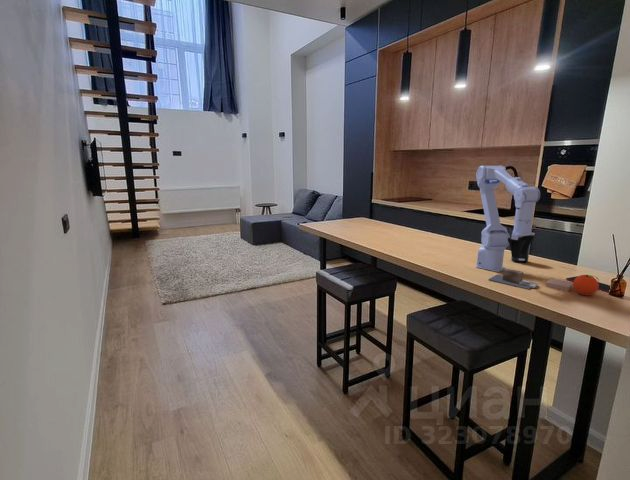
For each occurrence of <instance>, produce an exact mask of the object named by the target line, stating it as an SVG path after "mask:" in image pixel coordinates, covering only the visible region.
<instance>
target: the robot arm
mask: <svg viewBox="0 0 630 480" xmlns="http://www.w3.org/2000/svg"><path fill="white" fill-rule="evenodd" d="M475 178H476V183H477V187H478V188H479V191H480V197H481V203H482V207H483V214H484V220H485V224H486V227H484V228H483V229H482V231H481V233H480V234H481V238H480V240H481V241H480V242H481V246H480V247H479V249H478V252H477V260H476V266H475V267H476V268H478V269H482V270H483V269H484V270H487V271H488V270H489V271H493V272H497V273H500V272H502V271H504V269H507V267H506V266H503V264H504V255H505V250H507V247H509V246H510V253H511V257H514V258H519V256H520V254H526V253H527V250H528V248H529V245H530V246H531V243H532V242H533V240H534V239H535V234H536V233H535V232H533V231H532V230H533V229H532V228H533V220H534V215H535V207H536V206H535V205H536V203H537V202H538V201H539V200H540V198H541V190H540V189H539V188H538V187H537V186H530V185H529V184H528V183H527V182H524V181H523V180H522V177H517V176H515V177H513V176H511V174H509V172H508V171H507V168H506V167H505V166H504V165H501V164H500V165H480V166H479V167H478V168H477V170H476V174H475ZM501 183H502V184H504V185H505V189H506V190H507V192H508V193H510V194H511V195H512V196H513V199H514V206H515V214H514V223H513V229H512V233H511V235H510V234H509V232H508V228H507V227H505V226H504V225H502V224H501V221H500V220H501V219H500V216H499V210H498V205H497V199H496V194H495V191H494V190H495V188H498V187H499V186H500V184H501Z"/></svg>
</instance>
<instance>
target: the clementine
mask: <svg viewBox="0 0 630 480" xmlns="http://www.w3.org/2000/svg"><path fill="white" fill-rule="evenodd" d="M577 276H578V277H577V278H575V280H574V282H573V287H572V288H573V289H574V290H575V292H577V293H578V294H580V295H581V296H592V295H594V294H595V293H596V292H597V291H599V290H598V288H599V284H598V282H600V279H599V278H598V276H594V275H591V274H581V275H577Z"/></svg>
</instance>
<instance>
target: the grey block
mask: <svg viewBox="0 0 630 480" xmlns="http://www.w3.org/2000/svg"><path fill="white" fill-rule="evenodd" d="M502 271H503V272H502V273H503V274H502V275H503V280H505V281H509V282H514V283H518V284H519V285H524V286H528V287H532V288H533V289H534V288H536V287H537V286H539V283H538V282H535V281H531V280H526V279H524V278H523V277H524V271H520V270H515V269H511V268H505V269H503V270H502ZM522 280H523V281H522ZM525 280H526V281H525ZM530 281H531V282H530ZM534 282H535V283H534ZM532 288H531V289H532Z"/></svg>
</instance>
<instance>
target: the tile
mask: <svg viewBox="0 0 630 480" xmlns="http://www.w3.org/2000/svg"><path fill="white" fill-rule="evenodd" d="M546 287H547V288H551V289H556V290H561V291H565V292H570V291H571V290H572V289H573V288H574V287H573V282H571V281H568V280H562V279H558V278H553V277H551V278H550V279H548V280H547V281H546V282H545V288H546Z"/></svg>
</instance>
